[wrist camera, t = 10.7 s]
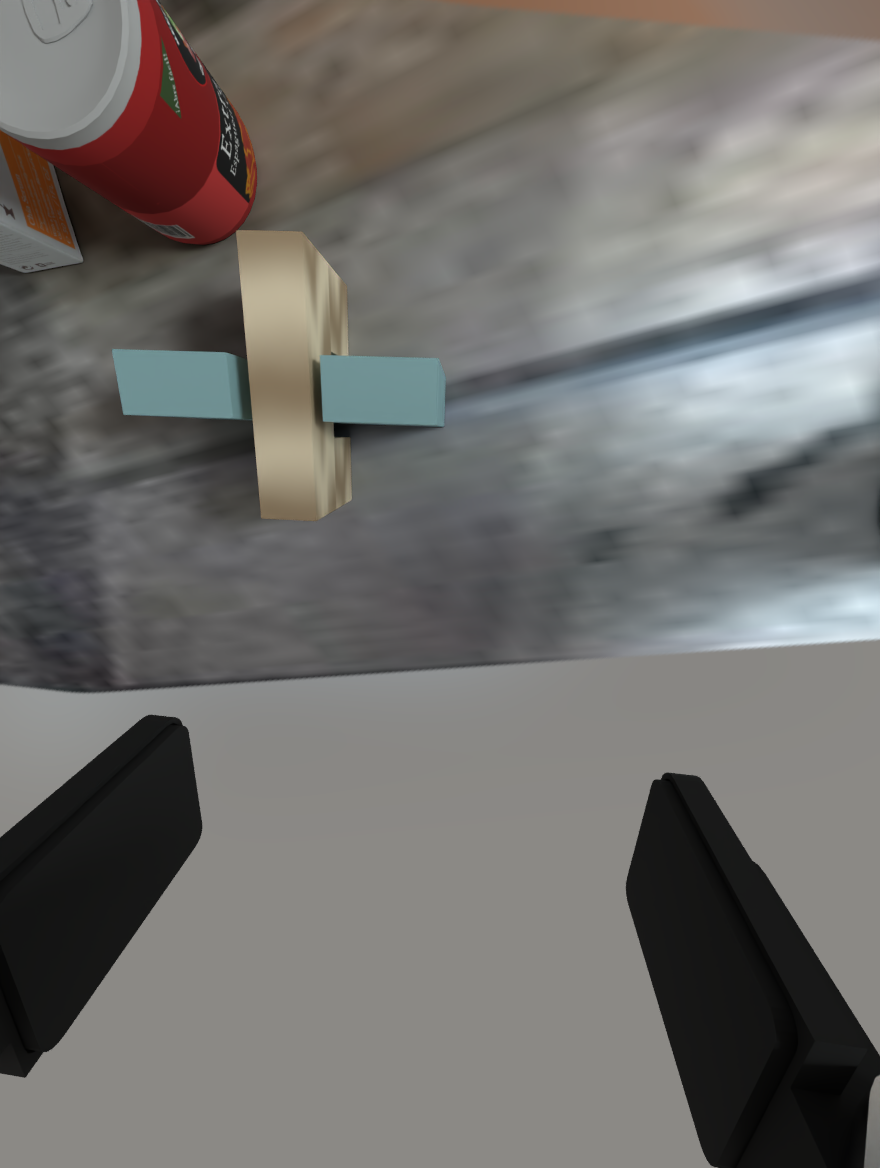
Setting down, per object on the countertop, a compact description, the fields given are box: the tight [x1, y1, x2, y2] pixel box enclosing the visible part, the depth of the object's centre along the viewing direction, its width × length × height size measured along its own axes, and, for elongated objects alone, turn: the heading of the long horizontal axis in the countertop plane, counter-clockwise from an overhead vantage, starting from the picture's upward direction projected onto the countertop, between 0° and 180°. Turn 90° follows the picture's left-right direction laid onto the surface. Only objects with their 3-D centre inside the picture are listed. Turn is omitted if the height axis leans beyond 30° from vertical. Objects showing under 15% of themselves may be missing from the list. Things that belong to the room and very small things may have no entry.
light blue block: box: [112, 349, 446, 427], centre depth 26 cm, size 16×3×8 cm, turn 88°
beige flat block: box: [236, 230, 352, 521], centre depth 26 cm, size 13×3×8 cm, turn 178°
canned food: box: [0, 0, 257, 245], centre depth 21 cm, size 8×8×11 cm
